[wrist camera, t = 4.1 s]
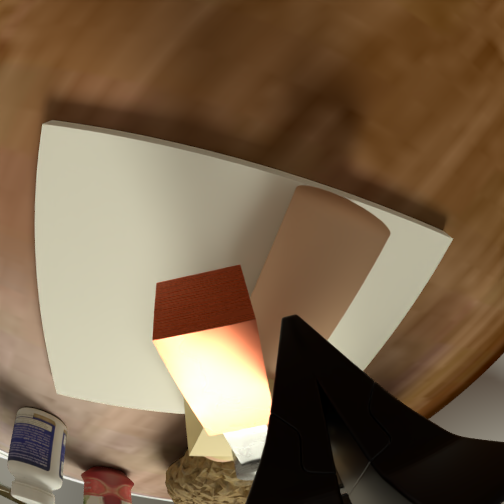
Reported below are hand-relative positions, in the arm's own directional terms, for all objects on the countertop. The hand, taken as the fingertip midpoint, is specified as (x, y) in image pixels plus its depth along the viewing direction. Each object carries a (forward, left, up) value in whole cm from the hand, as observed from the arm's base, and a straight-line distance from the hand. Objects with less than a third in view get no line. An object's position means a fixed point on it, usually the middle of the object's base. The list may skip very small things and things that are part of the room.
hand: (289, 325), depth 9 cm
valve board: (-6, -1, -7) cm, 9 cm away
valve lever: (-5, 0, 0) cm, 5 cm away
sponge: (-27, -6, -7) cm, 28 cm away
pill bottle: (-23, +13, -7) cm, 27 cm away
